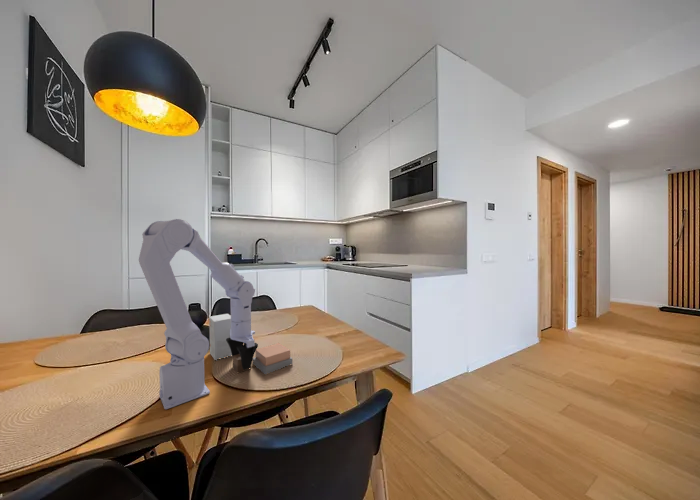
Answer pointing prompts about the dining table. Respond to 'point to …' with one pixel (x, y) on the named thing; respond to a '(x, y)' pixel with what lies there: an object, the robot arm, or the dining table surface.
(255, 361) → the slate slab
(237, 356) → the walnut cube
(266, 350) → the terracotta tile
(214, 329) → the small box
